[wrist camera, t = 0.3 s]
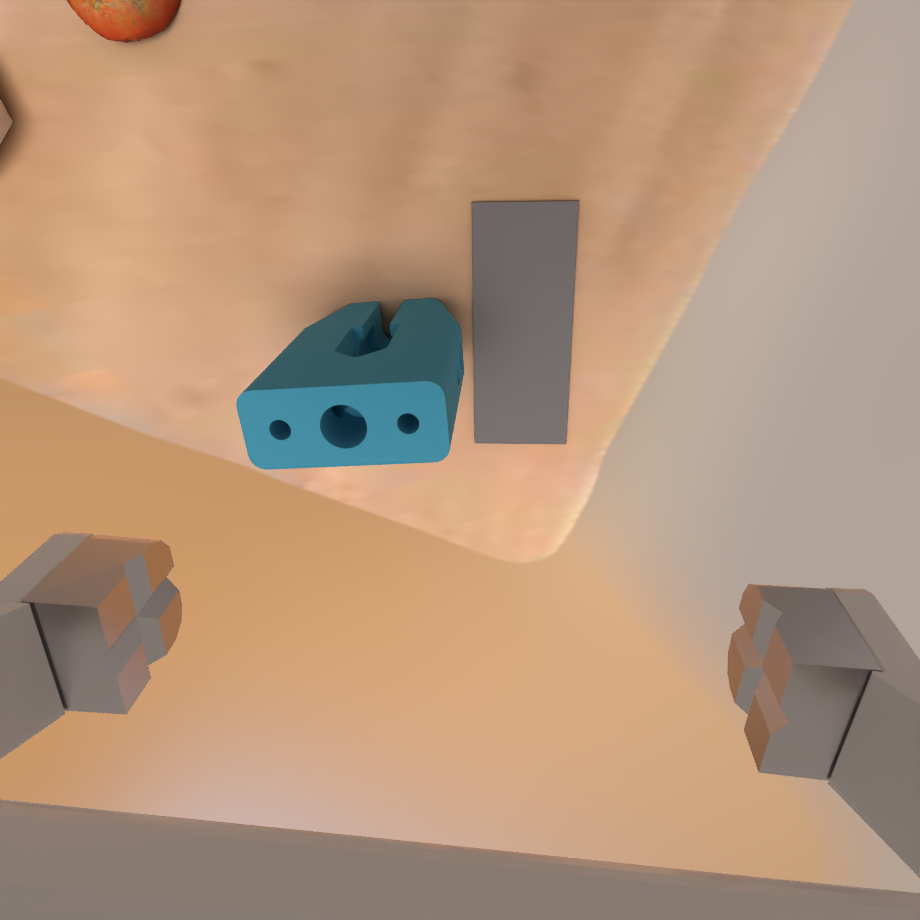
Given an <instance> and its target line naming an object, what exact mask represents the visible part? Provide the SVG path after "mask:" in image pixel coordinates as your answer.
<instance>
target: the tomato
mask: <svg viewBox="0 0 920 920" xmlns="http://www.w3.org/2000/svg"><path fill="white" fill-rule="evenodd" d="M67 1H68V3H69V4H70V6H71V7H72V8H73V10H75V12H76V13H77V15H78V16H79V17H80V18H81V19H82V20H83V21H84V22H85V24H86V25H89V26H90V27H91V28H92V29H93V30H94V31H95V32H96V33H98V34H99V35H100V36H102V37H104V38H106V39H108V40H113V41H122V42H126V43H128V42H130V41H134V39H135V40H139V41H140V39H141V38H144V39H147V37H152V35H153V34H157V33H159V32H160V31H163V30H164V29H165V28H166V26H167V25H168V24H169V23H170V21H171V19H172V18H173V16H174V15H175V13H176V11H177V9H178V8H179V6H180V2H181V0H67Z"/></svg>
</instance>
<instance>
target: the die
mask: <svg viewBox="0 0 920 920" xmlns="http://www.w3.org/2000/svg"><path fill="white" fill-rule="evenodd" d="M12 123H13V121H12V119H11V117H10V116H9V114H8V112H7V110H6V108H5V107H4V105H3V103H2V101H1V99H0V144H1V142H2V141H3V139H4V137H5V135H6V133H7V132H8V130H9V128H10V126H11V124H12Z"/></svg>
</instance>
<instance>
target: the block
mask: <svg viewBox="0 0 920 920" xmlns="http://www.w3.org/2000/svg"><path fill="white" fill-rule="evenodd" d="M390 332H391V336H392V337H393V338H392V340H391V339H389V338H388V337H387V336H386V335H385V334H384V331H383V326H382V319H381V311H380V304H379V302H365V303H352V304H349V305H347V306H345V307H343V308H342V309H340V310H338V311H336V312H334V313H332V314H331V315H329V316H327V317H325V318H323V319H322V320H320V321H318V322H316V323H314V324H312V325H311V326H309V327H307V328H305V329H304V330H303V331H302V332H301V333H300V334H299V335H298V336H297V337H296V338H295V339H294V340H293V341H292V342H291V343H290V344H289V345H288V346H287V348H286V349H285V350H284V351H283V352H282V353H281V354H280V355H279V356H278V357H277V358H276V359H275V360H274V361H273V362H272V363H271V364H270V365H269V366H268V367H267V368H266V369H265V370H264V371H263V372H262V373H261V374H260V375H259V376H258V377H257V378H256V379H255V380H254V381H253V382H252V383H251V384H250V385H249V387H248V388H247V389H246V390H245V391H244V392H243V393H242V394H241V395H240V396H239V397H238V399H237V403H236V404H237V411H238V415H239V419H240V423H241V427H242V432H243V436H244V440H245V444H246V448H247V453H248V456H249V459H250V460H251V462H252V463H253V464H254V465H255V466H257V467H259V468H262V469H290V468H313V467H336V466H360V465H383V464H406V463H429V462H439V461H441V460H443V459H444V458H445V457H446V456H447V455H448V453H449V450H450V445H451V439H452V434H453V429H454V423H455V418H456V413H457V407H458V402H459V396H460V391H461V386H462V380H463V375H464V362H463V350H462V338H461V328H460V326H459V324H458V322H457V321H456V320H455V319H454V317H453V316H452V315H451V314H450V312H449V311H448V310H447V309H446V307H445V306H444V305H443V303H442V302H441V301H439V300H438V299H435V298H426V299H411V300H404V301H403V303H402V304H401V306H400V308H399V309H398V311H397V313H396V314H395V316H394V318H393V320H392V321H391V323H390Z"/></svg>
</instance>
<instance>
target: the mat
mask: <svg viewBox="0 0 920 920" xmlns="http://www.w3.org/2000/svg"><path fill="white" fill-rule="evenodd" d="M578 211H579V201H507V202H472V250H473V336H474V423H475V443H502V444H566V438H567V419H568V400H569V381H570V362H571V343H572V324H573V305H574V286H575V267H576V248H577V230H578Z"/></svg>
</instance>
